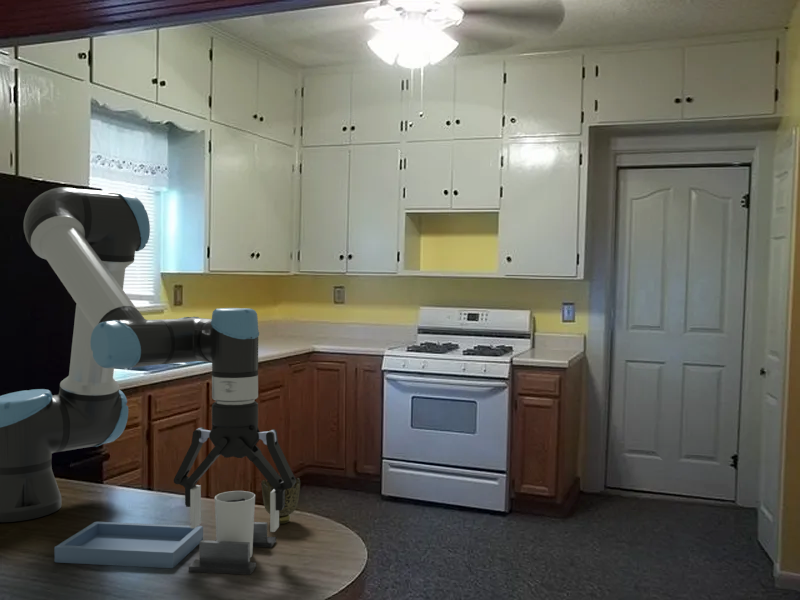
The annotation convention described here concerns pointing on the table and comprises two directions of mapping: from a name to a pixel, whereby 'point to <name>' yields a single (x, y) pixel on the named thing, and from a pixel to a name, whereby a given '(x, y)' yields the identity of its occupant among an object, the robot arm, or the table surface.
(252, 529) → the white tumbler
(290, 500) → the cup
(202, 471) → the robot arm
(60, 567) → the table surface
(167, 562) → the tray
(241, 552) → the bracket
